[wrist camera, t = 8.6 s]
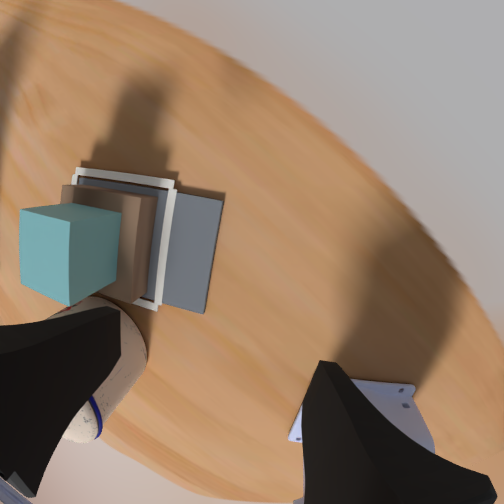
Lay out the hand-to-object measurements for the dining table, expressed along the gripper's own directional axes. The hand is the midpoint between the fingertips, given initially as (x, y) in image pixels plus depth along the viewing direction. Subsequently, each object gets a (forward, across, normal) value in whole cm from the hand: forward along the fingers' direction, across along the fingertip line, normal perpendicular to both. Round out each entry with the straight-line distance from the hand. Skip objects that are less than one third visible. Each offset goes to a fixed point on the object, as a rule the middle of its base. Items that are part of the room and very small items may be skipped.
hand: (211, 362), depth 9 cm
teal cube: (+8, +10, -1) cm, 13 cm away
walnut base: (+10, +10, 0) cm, 15 cm away
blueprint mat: (+11, +8, 0) cm, 14 cm away
